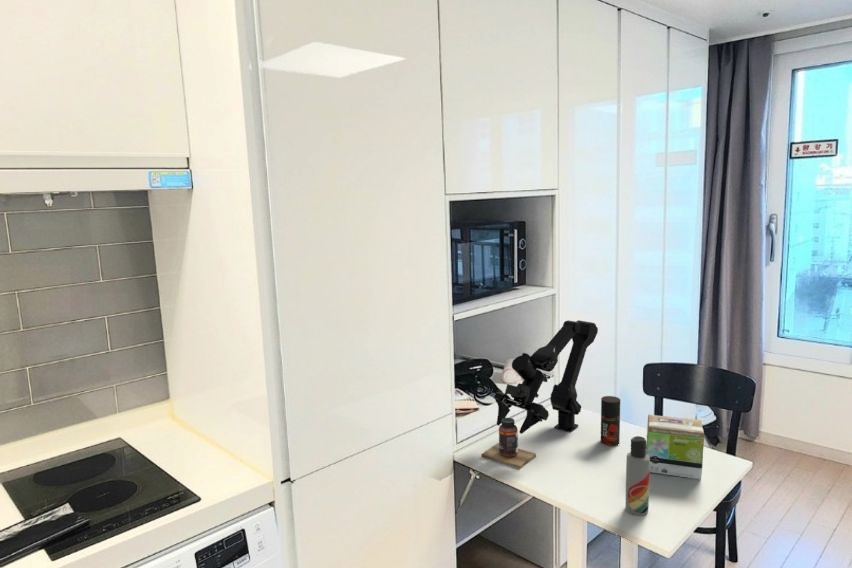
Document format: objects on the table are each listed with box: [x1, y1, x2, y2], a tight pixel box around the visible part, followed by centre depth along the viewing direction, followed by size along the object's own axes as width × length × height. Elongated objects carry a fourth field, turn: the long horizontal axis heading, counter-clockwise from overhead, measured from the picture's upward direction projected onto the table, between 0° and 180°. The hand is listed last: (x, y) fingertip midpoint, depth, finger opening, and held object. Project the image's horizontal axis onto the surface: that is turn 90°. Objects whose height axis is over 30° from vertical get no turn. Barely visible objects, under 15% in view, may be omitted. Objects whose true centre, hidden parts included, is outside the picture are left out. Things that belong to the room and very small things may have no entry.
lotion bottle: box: [625, 435, 651, 516], centre depth 150 cm, size 6×6×20 cm
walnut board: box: [480, 442, 537, 470], centre depth 184 cm, size 10×14×1 cm
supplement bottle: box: [498, 417, 519, 457], centre depth 183 cm, size 6×6×11 cm
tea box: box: [646, 414, 705, 481], centre depth 172 cm, size 15×10×15 cm
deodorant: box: [600, 395, 621, 447], centre depth 191 cm, size 6×6×15 cm
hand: (508, 428), depth 183 cm, fingers open, 9 cm apart
